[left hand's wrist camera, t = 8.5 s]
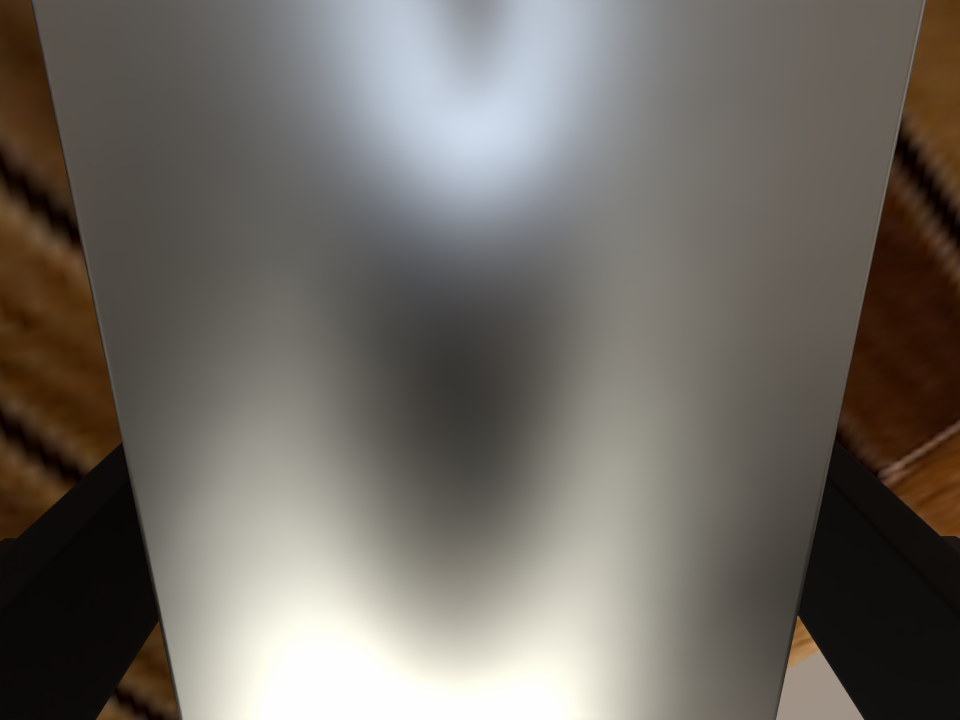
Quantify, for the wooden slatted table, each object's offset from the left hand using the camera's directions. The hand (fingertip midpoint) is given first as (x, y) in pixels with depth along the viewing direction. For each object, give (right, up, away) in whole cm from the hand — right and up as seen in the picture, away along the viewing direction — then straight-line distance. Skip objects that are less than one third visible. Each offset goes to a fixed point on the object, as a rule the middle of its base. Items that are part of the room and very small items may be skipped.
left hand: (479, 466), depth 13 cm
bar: (0, +9, -1) cm, 9 cm away
